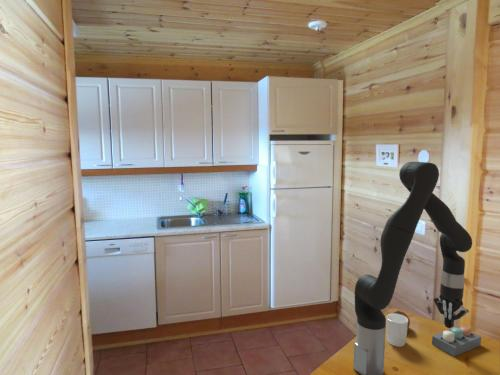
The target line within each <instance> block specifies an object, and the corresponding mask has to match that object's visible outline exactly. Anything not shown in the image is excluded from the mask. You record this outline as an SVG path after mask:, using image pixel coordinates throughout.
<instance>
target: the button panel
mask: <svg viewBox="0 0 500 375" xmlns="http://www.w3.org/2000/svg"><path fill="white" fill-rule="evenodd" d="M455 327H456V328H460V327H461V326H460V325H457V326H455ZM451 330H452V328H448V329H447V330H446V331H451ZM431 338H432V339H431V345H432V346H434V347H436V348H438V349H440V350H441V351H443V352H445V353H447V354H449V355H451V357H456V356H460V355H461V354H463V353H466V352H468V351H470V350H473V349H475V348H478V347H480V346H481V344H482V336H481V335H478V334H476V333H475V332H472V331H471V336H469V337H465V336H463V338H462V339H461V340H459V341H458V340H457V339H455V338H454V343H451V344H449V343H447V342H445V341H443V331H441V332H439V333H436V334H434V335H432V337H431Z"/></svg>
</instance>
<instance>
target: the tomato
mask: <svg viewBox="0 0 500 375" xmlns="http://www.w3.org/2000/svg"><path fill="white" fill-rule="evenodd" d="M393 313H396V314H401V315H403V316H405V317H407V318H408V328H409V327H410V324H411V322H410V318H409V316H408V315H407V314H406V313H405V312H404V311H400V310H396V311H394V312H393Z"/></svg>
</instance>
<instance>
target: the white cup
mask: <svg viewBox="0 0 500 375" xmlns="http://www.w3.org/2000/svg"><path fill="white" fill-rule="evenodd" d="M385 318H386V328H385V329H386V341H387V343H388V344H390V345H391V346H393V347H404V346H405V345H406V344H407V343H406V341H407V336H408V335H407V334H408V328H409V327H408V318H409V317H408V318H407V317H405V316H403V315H401V314H396V313H394V312H391V313H389V314H387V315H386V316H385Z"/></svg>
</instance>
